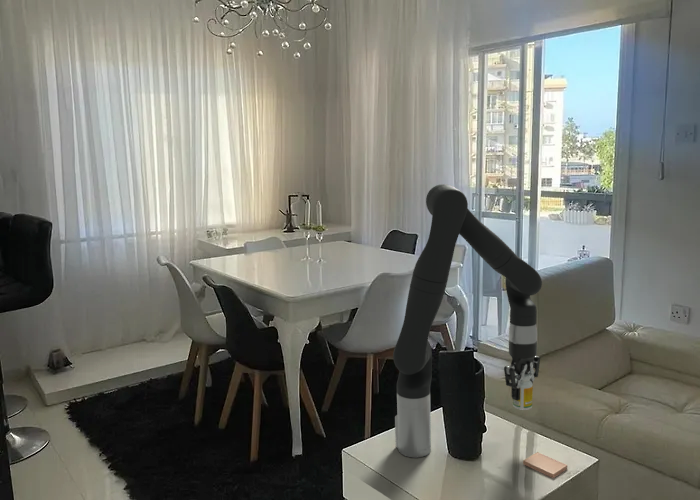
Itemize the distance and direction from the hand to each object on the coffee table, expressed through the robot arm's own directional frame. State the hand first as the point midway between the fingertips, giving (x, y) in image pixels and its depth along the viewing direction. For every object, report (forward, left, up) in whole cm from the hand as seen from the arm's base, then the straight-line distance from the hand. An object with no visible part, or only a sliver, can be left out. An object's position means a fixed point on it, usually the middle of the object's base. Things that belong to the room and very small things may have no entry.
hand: (522, 396), depth 162 cm
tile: (+7, -6, -13) cm, 16 cm away
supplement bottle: (0, 0, -3) cm, 3 cm away
